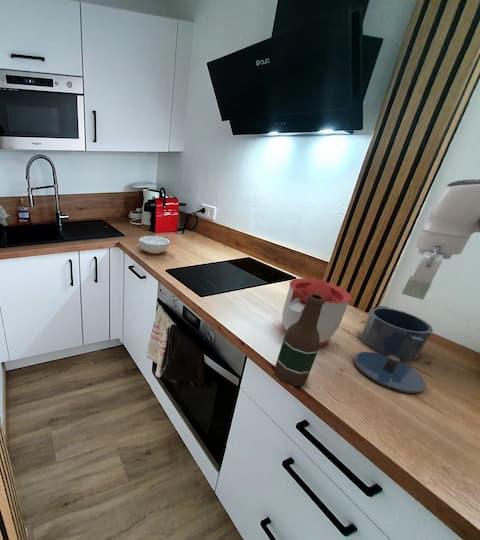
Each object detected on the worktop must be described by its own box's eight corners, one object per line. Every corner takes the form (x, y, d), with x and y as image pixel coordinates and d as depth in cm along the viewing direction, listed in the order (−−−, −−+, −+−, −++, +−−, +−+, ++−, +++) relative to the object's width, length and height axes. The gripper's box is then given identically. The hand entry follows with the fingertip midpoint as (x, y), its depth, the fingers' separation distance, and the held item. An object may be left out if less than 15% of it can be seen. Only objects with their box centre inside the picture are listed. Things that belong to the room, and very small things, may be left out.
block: (403, 289, 84) (410, 275, 83) (424, 295, 81) (432, 281, 79) (401, 293, 82) (408, 279, 80) (423, 299, 79) (430, 285, 77)
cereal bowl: (174, 251, 162) (175, 240, 160) (157, 259, 151) (158, 246, 148) (150, 245, 173) (150, 233, 170) (132, 251, 161) (133, 239, 158)
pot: (396, 332, 95) (408, 307, 92) (435, 371, 79) (452, 343, 75) (349, 324, 99) (359, 300, 95) (377, 360, 82) (390, 332, 78)
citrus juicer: (262, 329, 95) (277, 274, 87) (296, 318, 101) (313, 266, 93) (306, 358, 82) (329, 297, 74) (343, 344, 88) (367, 287, 80)
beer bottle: (311, 379, 74) (343, 299, 65) (296, 392, 70) (328, 308, 61) (282, 362, 80) (307, 286, 70) (266, 373, 76) (291, 293, 66)
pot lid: (403, 361, 82) (411, 346, 80) (438, 401, 69) (448, 385, 67) (344, 350, 86) (350, 336, 83) (367, 386, 73) (375, 370, 71)
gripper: (455, 254, 67) (427, 305, 72) (458, 239, 79) (434, 284, 85) (418, 247, 71) (395, 295, 77) (426, 234, 84) (406, 276, 89)
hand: (415, 289), depth 81 cm, fingers closed on block, 4 cm apart
